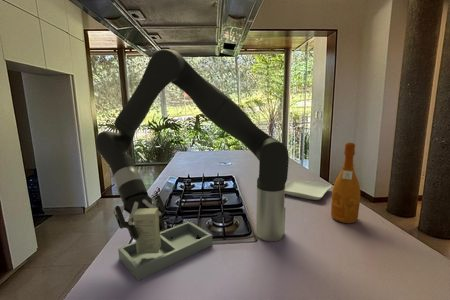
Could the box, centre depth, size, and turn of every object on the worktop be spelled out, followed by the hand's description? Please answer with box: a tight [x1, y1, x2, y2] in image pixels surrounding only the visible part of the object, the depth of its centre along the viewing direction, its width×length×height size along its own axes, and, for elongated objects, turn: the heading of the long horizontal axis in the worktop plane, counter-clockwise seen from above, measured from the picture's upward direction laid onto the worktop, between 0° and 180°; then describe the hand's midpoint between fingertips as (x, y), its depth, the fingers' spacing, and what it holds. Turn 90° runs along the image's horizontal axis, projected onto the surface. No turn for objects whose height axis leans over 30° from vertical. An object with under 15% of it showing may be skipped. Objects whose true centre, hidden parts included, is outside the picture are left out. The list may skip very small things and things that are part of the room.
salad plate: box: [285, 178, 333, 201], centre depth 131 cm, size 21×21×3 cm
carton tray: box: [117, 221, 213, 281], centre depth 80 cm, size 25×13×4 cm, turn 132°
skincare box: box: [133, 207, 161, 254], centre depth 75 cm, size 6×4×12 cm
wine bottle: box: [330, 142, 361, 224], centre depth 99 cm, size 10×10×30 cm
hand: (150, 233), depth 74 cm, fingers closed on skincare box, 7 cm apart
